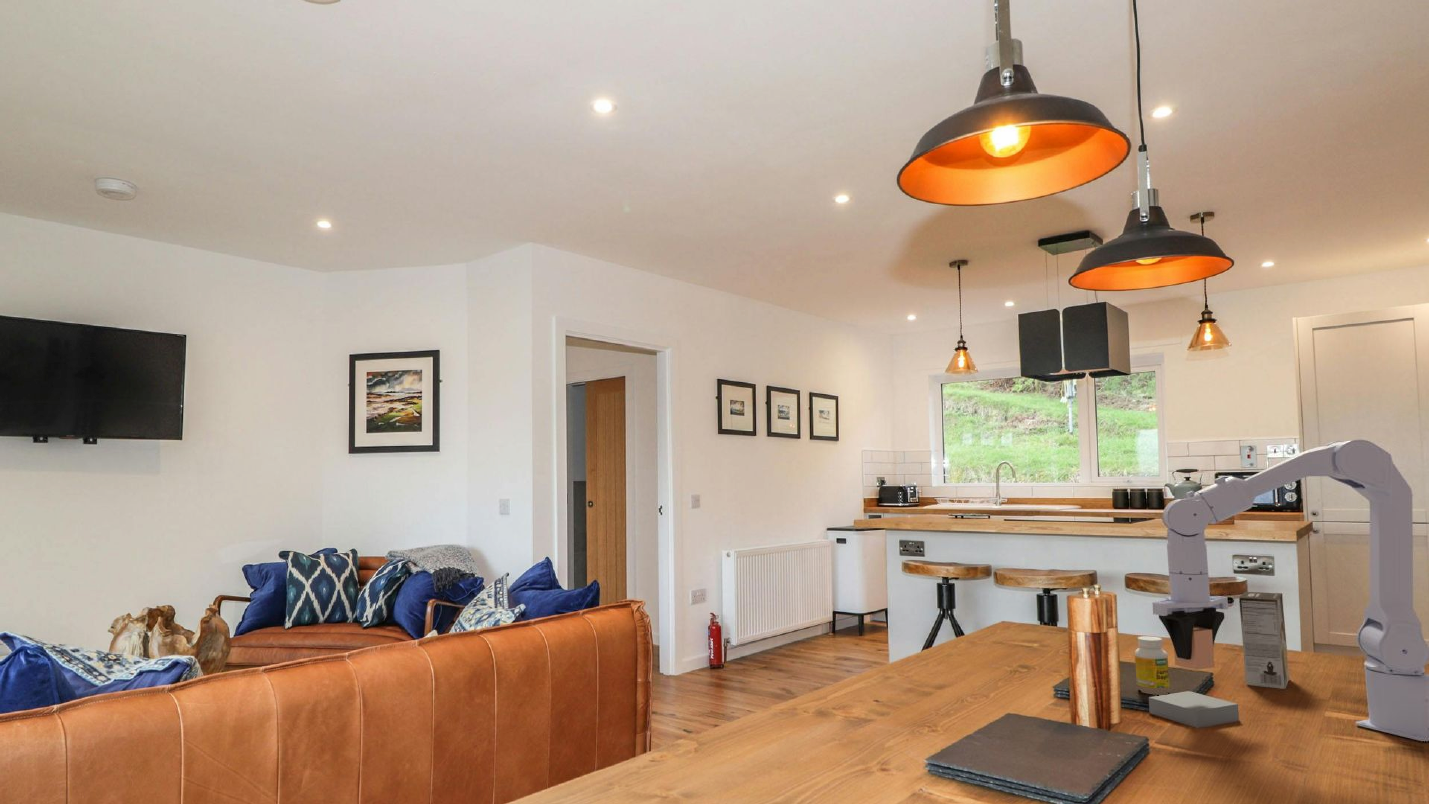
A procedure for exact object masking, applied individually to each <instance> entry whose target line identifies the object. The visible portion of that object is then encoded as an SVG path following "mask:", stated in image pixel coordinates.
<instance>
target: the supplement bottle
mask: <svg viewBox="0 0 1429 804" xmlns="http://www.w3.org/2000/svg"><path fill="white" fill-rule="evenodd" d="M1163 642H1164V641H1163V638H1162V637H1158V636H1149V635H1147V636H1146V635H1144V636H1143V635H1142V636H1138V637H1137V644H1138V647H1139V648H1138V647H1137V649H1135V651H1134V662H1135V663H1134V664H1135V674H1136V676H1135V678H1136V685H1137V684H1138V685H1140V686H1142V687H1149V688H1165V687H1170V688H1171V686H1170V672H1169V670H1170V669H1169V658H1168V657H1169V655H1168V652H1167V651H1165V649H1163V646H1164V644H1163Z"/></svg>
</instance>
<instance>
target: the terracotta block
mask: <svg viewBox="0 0 1429 804" xmlns="http://www.w3.org/2000/svg"><path fill="white" fill-rule="evenodd" d="M1173 653H1174V664H1175V666H1179V667H1184V668H1187V669H1191V670H1192V669H1193V670H1196V671H1197V670H1205V669H1212V668H1215V654H1214V653H1215V652H1214V646H1213V637H1212V629H1206V628H1201V627H1195V626H1194V628H1193V633H1192V655H1191V659H1189V660H1187V659H1182V658H1178V657H1177V655H1176V652H1175V649H1174V648H1173Z"/></svg>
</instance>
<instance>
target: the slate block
mask: <svg viewBox="0 0 1429 804" xmlns="http://www.w3.org/2000/svg"><path fill="white" fill-rule="evenodd" d="M1148 706H1149V707H1148V708H1149V710H1148V711H1149V714H1151V715H1154V716H1157V717H1160V718H1164V719H1166V720H1167V719H1168V720H1171V721H1174V722H1178V723H1181V724H1184V725H1187V726H1189V727H1190V726H1191V727H1193V728H1196V729H1199V728H1205V727H1211V726H1216V725H1217V726H1218V725H1222V724H1229V723H1234V722H1240V714H1239V713H1240V711H1239V704H1238V703H1236V702H1233V701H1229V700H1225V699H1221V698H1216V697H1213V696H1209V695H1205V694H1201V693H1197V692H1194V691H1190V690H1187V691H1181V692H1174V693H1169V694H1167V695H1159V696H1157V695H1153V696H1149V697H1148Z"/></svg>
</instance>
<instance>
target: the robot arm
mask: <svg viewBox="0 0 1429 804" xmlns="http://www.w3.org/2000/svg"><path fill="white" fill-rule="evenodd" d="M1307 477H1308V478H1309V477H1328V478H1331V479H1332V480H1334V481H1337V482H1340V483H1342V484H1344V485H1347V486H1348V487H1351V488H1352V490H1354V491H1356V492H1357V493H1358V494H1360V495H1361V496H1362V497H1363V498H1365V499H1366V500H1368V503H1369V602H1368V604H1367V606H1366V607H1365V609H1364V612H1363V622H1362V625H1361V626H1360V628H1359V629H1358V631H1357V634H1356V641H1357V645H1358V647H1359V648H1360V650H1361V651H1362V652H1363V653H1364V654H1365V655H1366V659H1365V661H1364V662H1363V664H1364V675H1365V688H1366V697H1367V710H1368V718H1367V719H1363V720H1358V721H1355V725H1356V726H1359V727H1363V728H1366V729H1371V730H1374V731H1378V732H1382V733H1385V734H1387V733H1388V734H1390V735H1393V736H1399V737H1403V738H1407V739H1411V740H1416V741H1419V742H1423V741H1424V742H1425V741H1426V742H1429V674H1428V673H1426V672H1425V670H1426V669H1425V666H1426V665H1427V664H1428V662H1429V645H1428V643H1427V641H1426V639H1425V638H1424V636H1423V632H1422V623H1421V621H1420V618H1419V617H1418V615H1417V613H1416V611H1415V609H1414V592H1413V591H1414V579H1413V578H1414V576H1413V574H1414V571H1413V570H1414V568H1413V567H1414V561H1413V559H1414V557H1413V556H1414V555H1413V550H1414V546H1413V543H1414V541H1413V539H1414V538H1413V537H1414V535H1413V530H1414V528H1413V525H1414V523H1413V522H1414V521H1413V492H1412V488H1411V487H1410V485H1409V484H1408V481H1406V479H1405V478H1404V476H1403V475H1402V473H1401V472H1400V471H1399V470H1398V468H1397V466H1396V465H1395V464H1394V461H1393V457H1392V454H1391V453H1389V452H1388V451H1387V450H1385V449H1383V448H1381V446H1378V445H1377V444H1376V443H1374V442H1372V441H1371V440H1367V439H1352V440H1348V441H1347V440H1346V441H1344V440H1343V441H1342V440H1337V441H1332V442H1329V443H1327V444H1325V445H1324V446H1317V447H1314V448H1310V449H1308V450H1305V451H1301V452H1299V453H1297V454H1294V455H1292V456H1290V457H1288V458H1286V459H1283V460H1282V461H1280V462H1278V463H1276V464H1273V465H1272V466H1270V467H1268V468H1265V469H1263V470H1261V471H1259V472H1258V473H1255V474H1253V475H1251V476H1249V477H1247V478H1245V479H1242V478H1238V477H1236V476H1228V477H1227V478H1225V476H1219V477H1217V478H1215V479H1214V482H1215V483H1213V484H1211V485H1208V486H1206V487H1203V488H1202V489H1200V490H1197V491H1196V492H1194V491H1193V490H1190V491H1188V492H1186V496H1187V498H1182V499H1181V498H1180V499H1179V498H1178V499H1173V500H1172V501H1170V502H1168V503H1167V504H1166V506H1165V507H1164V510H1163V513H1162V515H1161V520H1162V523H1163V524H1164V527H1166V528H1167V529H1166V538H1167V544H1166V550H1167V564H1168V566H1167V567H1168V579H1169V580H1168V581H1169V592H1170V596H1166V599H1162V600H1159V601H1153V602H1152V614H1153V615H1156V616H1158V619H1159V620H1160V621H1161V623H1162V625H1163V626H1164V628H1165V629H1166V631H1167V633H1168V636H1169V638H1170V640H1171V643H1172V646H1173V650H1174V649H1175V652H1176V655H1177V657H1178V658H1182V659H1187V660H1189V659H1191V655H1192V633H1193V628H1194V626H1195V627H1201V628H1206V629H1212V637H1213V647H1215V640H1216V636H1217V634H1218V631H1219V629H1220V626H1221V625H1222V623H1223V622H1224V620H1225V617H1226V616H1225V612H1223V611H1217V610H1228V609H1229V602H1228V597H1227V596H1221V595H1212V596H1211V594H1210V593H1211V592H1210V591H1211V589H1210V578H1209V577H1210V576H1209V564H1208V551H1207V550H1208V549H1207V544H1206V536H1205V535H1206V534H1205V531H1206V529H1207V528H1208V526H1209V524H1211V525H1216V524H1218V523H1219V522H1220V523H1221V522H1222V521H1224V520H1227V519H1229V518H1231V517H1234V516H1236V515H1238V514H1240V513H1242V512H1245V511H1247V510H1250V509H1252V507H1253V505H1254V502H1255V499H1256V498H1257V497H1259V496H1262V495H1264V494H1267V493H1269V492H1271V491H1273V490H1277V489H1279V488H1281V487H1284V486H1287V485H1290V484H1292V483H1294V482H1297V481H1299V480H1301V479H1305V478H1307ZM1426 742H1425V743H1426Z"/></svg>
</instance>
